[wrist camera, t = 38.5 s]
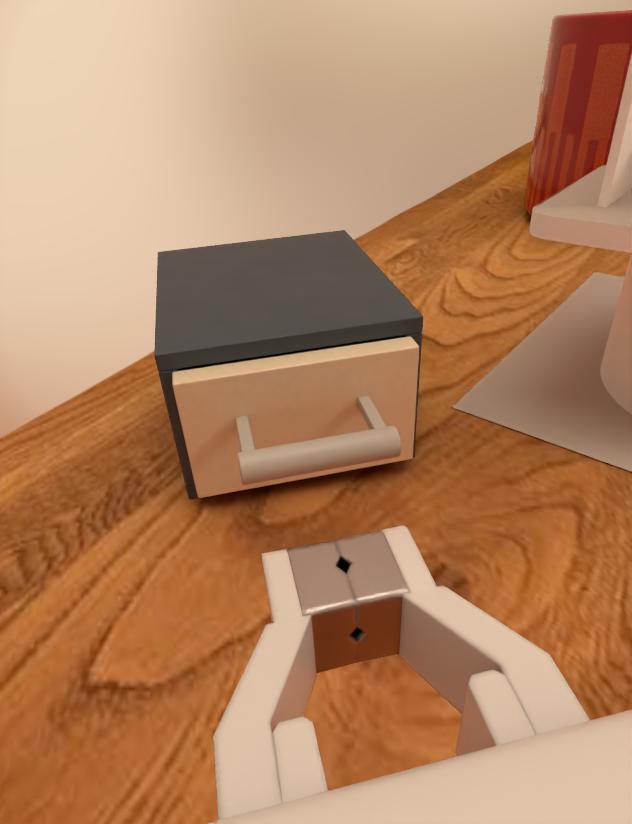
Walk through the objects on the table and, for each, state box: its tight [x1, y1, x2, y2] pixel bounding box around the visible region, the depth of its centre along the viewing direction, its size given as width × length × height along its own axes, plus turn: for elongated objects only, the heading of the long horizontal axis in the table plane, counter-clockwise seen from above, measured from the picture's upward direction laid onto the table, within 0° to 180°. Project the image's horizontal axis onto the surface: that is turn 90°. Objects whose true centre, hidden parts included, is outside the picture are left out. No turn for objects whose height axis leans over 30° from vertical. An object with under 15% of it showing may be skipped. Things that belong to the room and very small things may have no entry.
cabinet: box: [155, 230, 423, 499], centre depth 35 cm, size 15×13×9 cm
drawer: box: [172, 336, 419, 498], centre depth 32 cm, size 18×12×7 cm, turn 13°
